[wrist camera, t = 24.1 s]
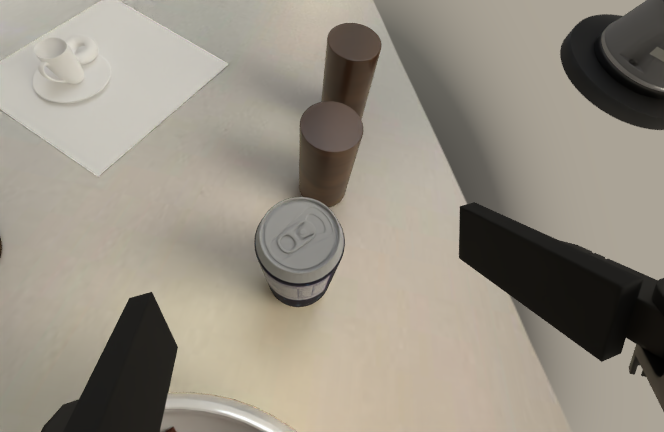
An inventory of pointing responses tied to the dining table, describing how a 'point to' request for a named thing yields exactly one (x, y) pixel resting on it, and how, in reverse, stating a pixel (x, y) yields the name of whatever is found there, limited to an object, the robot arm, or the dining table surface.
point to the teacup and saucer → (102, 82)
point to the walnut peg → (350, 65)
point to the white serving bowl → (216, 415)
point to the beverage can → (299, 249)
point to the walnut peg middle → (328, 150)
